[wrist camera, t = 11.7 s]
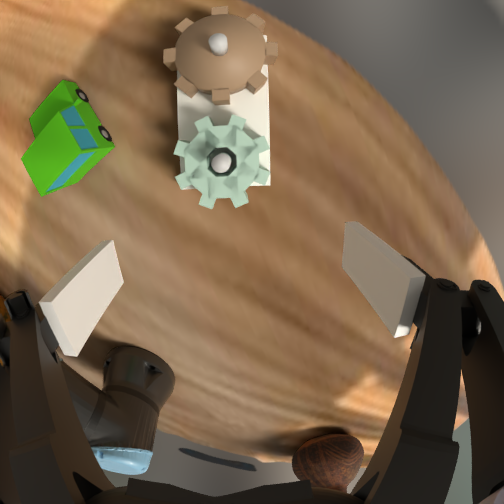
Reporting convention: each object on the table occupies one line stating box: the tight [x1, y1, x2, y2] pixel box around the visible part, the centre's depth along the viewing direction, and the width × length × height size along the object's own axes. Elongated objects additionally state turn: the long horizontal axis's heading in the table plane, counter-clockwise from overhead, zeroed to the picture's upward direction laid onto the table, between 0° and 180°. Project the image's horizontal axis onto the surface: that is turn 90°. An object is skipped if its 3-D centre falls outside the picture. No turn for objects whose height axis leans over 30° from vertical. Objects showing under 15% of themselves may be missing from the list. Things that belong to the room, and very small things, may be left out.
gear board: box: [163, 6, 278, 190], centre depth 26 cm, size 12×23×9 cm, turn 1°
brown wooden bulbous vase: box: [292, 434, 364, 493], centre depth 51 cm, size 22×22×30 cm
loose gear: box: [174, 114, 270, 209], centre depth 30 cm, size 10×10×4 cm
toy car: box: [21, 80, 115, 197], centre depth 25 cm, size 10×13×10 cm
